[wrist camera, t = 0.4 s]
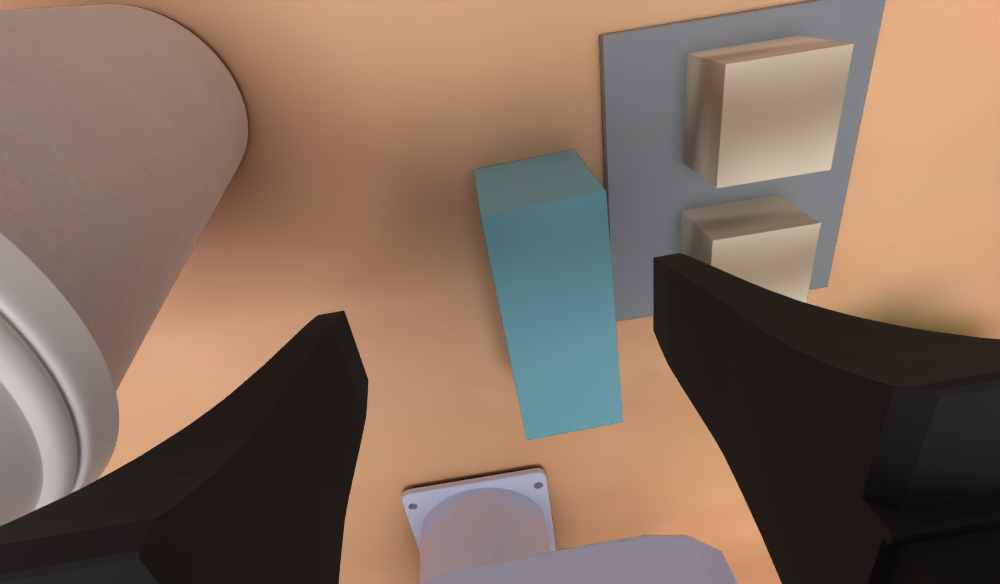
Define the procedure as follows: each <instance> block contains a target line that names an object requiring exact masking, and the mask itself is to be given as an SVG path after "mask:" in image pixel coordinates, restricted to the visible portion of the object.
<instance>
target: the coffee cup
mask: <svg viewBox="0 0 1000 584" xmlns="http://www.w3.org/2000/svg"><path fill="white" fill-rule="evenodd" d="M247 141H248V119H247V113H246V108H245V105H244V102H243V99H242V96H241V93H240V91H239V89H238V87H237V85H236V83H235V81H234V79H233V77H232V76H231V74H230V73H229V71H228V70H227V68H226V67H225V65H224V64H223V63H222V62H221V60H220V59H219V58H218V57H217V56H216V54H215V53H214V52H213V51H212V50H211V49H210V48H209V47H208V46H207V45H206V44H205V43H204V42H202V41H201V40H200V39H199V38H198V37H197V36H195V35H194V34H193V33H191V32H190V31H189V30H187V29H186V28H184V27H183V26H181V25H179V24H178V23H176V22H174V21H172V20H170V19H168V18H166V17H164V16H162V15H160V14H157V13H155V12H152V11H149V10H146V9H143V8H139V7H135V6H130V5H122V4H95V5H79V6H64V7H49V8H34V9H19V10H3V11H0V526H2V525H4V524H6V523H9V522H11V521H13V520H15V519H17V518H19V517H22V516H24V515H26V514H28V513H30V512H32V511H35V510H37V509H39V508H41V507H43V506H45V505H48V504H50V503H52V502H54V501H56V500H58V499H61V498H63V497H65V496H67V495H69V494H71V493H73V492H75V491H77V490H79V489H81V488H83V487H85V486H87V485H89V484H91V483H92V482H94V481H96V480H97V479H98V478H99V477H100V475H101V474H102V473H103V471H104V470H105V468H106V466H107V465H108V463H109V461H110V459H111V456H112V454H113V452H114V448H115V445H116V441H117V436H118V429H119V409H118V401H117V395H116V391H117V389H118V387H119V385H120V383H121V381H122V379H123V377H124V375H125V374H126V372H127V370H128V368H129V366H130V364H131V362H132V360H133V359H134V357H135V355H136V353H137V351H138V349H139V347H140V346H141V344H142V342H143V340H144V338H145V336H146V334H147V333H148V331H149V329H150V327H151V325H152V323H153V321H154V320H155V318H156V316H157V314H158V312H159V310H160V309H161V307H162V305H163V303H164V301H165V299H166V298H167V296H168V294H169V292H170V290H171V288H172V287H173V285H174V283H175V281H176V279H177V277H178V276H179V274H180V272H181V270H182V268H183V266H184V265H185V263H186V261H187V259H188V257H189V256H190V254H191V252H192V250H193V248H194V246H195V245H196V243H197V241H198V239H199V237H200V235H201V234H202V232H203V230H204V228H205V226H206V225H207V223H208V221H209V219H210V217H211V215H212V214H213V212H214V210H215V208H216V206H217V205H218V203H219V201H220V199H221V197H222V196H223V194H224V192H225V190H226V188H227V187H228V185H229V183H230V181H231V179H232V177H233V176H234V174H235V172H236V170H237V168H238V167H239V165H240V163H241V161H242V159H243V156H244V153H245V150H246V147H247Z"/></svg>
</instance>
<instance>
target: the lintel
mask: <svg viewBox="0 0 1000 584" xmlns="http://www.w3.org/2000/svg"><path fill="white" fill-rule="evenodd" d="M474 176H475V182H476V189H477V195H478V202H479V208H480V215H481V220H482V225H483V230H484V235H485V240H486V244H487V249H488V254H489V259H490V264H491V269H492V274H493V279H494V284H495V288H496V293H497V298H498V303H499V308H500V313H501V318H502V323H503V328H504V332H505V337H506V342H507V347H508V352H509V357H510V362H511V367H512V371H513V376H514V381H515V386H516V391H517V396H518V401H519V406H520V411H521V415H522V420H523V425H524V430H525V435H526V440H531V439H537V438H542V437H547V436H552V435H557V434H563V433H568V432H573V431H578V430H583V429H589V428H594V427H599V426H604V425H609V424H615V423H620V422H623V416H622V402H621V389H620V375H619V361H618V348H617V334H616V321H615V307H614V293H613V280H612V266H611V252H610V239H609V225H608V212H607V198H606V190H605V189H604V188H603V187H602V185H601V184H600V183H599V181H598V180H597V179H596V177H595V176H594V175H593V174H592V172H591V171H590V170H589V168H588V167H587V166H586V165H585V163H584V162H583V161H582V159H581V158H580V157H579V156H578V154H577V153H576V152H575V150H569V151H564V152H559V153H554V154H549V155H544V156H539V157H534V158H529V159H523V160H518V161H513V162H508V163H503V164H498V165H493V166H488V167H483V168H478V169H474Z"/></svg>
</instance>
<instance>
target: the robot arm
mask: <svg viewBox="0 0 1000 584" xmlns="http://www.w3.org/2000/svg"><path fill="white" fill-rule="evenodd" d="M653 327H654V333H655V335H656V338H657V340H658V343H659V345H660V347H661V350H662V352H663V354H664V356H665V359H666V361H667V363H668V365H669V367H670V368H671V370H672V372H673V373H674V375H675V377H676V378H677V380H678V381H679V383H680V385H681V386H682V388H683V390H684V391H685V393H686V394H687V396H688V397H689V399H690V401H691V402H692V404H693V405H694V407H695V409H696V410H697V412H698V413H699V415H700V416H701V418H702V420H703V421H704V423H705V424H706V426H707V427H708V429H709V431H710V432H711V434H712V435H713V437H714V439H715V440H716V442H717V444H718V446H719V447H720V449H721V451H722V453H723V455H724V456H725V459H726V461H727V463H728V465H729V467H730V469H731V471H732V473H733V475H734V477H735V479H736V481H737V483H738V485H739V487H740V490H741V492H742V494H743V496H744V498H745V500H746V502H747V505H748V507H749V509H750V511H751V513H752V516H753V518H754V520H755V522H756V524H757V527H758V529H759V531H760V533H761V535H762V538H763V540H764V542H765V545H766V547H767V549H768V552H769V554H770V557H771V559H772V561H773V564H774V566H775V568H776V571H777V573H778V575H779V578H780V580H781V582H782V584H1000V339H989V338H977V337H969V336H961V335H954V334H947V333H940V332H932V331H926V330H920V329H914V328H908V327H902V326H897V325H892V324H887V323H882V322H877V321H873V320H868V319H863V318H859V317H855V316H851V315H847V314H843V313H839V312H836V311H832V310H828V309H825V308H821V307H818V306H814V305H811V304H808V303H805V302H802V301H798V300H795V299H793V298H790V297H787V296H784V295H782V294H779V293H776V292H773V291H771V290H768V289H765V288H763V287H760V286H758V285H755V284H753V283H751V282H748V281H746V280H743V279H741V278H739V277H736V276H734V275H732V274H729V273H727V272H725V271H723V270H720V269H718V268H716V267H714V266H711V265H709V264H707V263H704V262H702V261H700V260H697V259H695V258H693V257H690V256H687V255H685V254H681V253H676V254H670V255H665V256H659V257H653ZM367 396H368V378H367V375H366V372H365V369H364V366H363V363H362V360H361V358H360V355H359V352H358V349H357V346H356V343H355V340H354V337H353V335H352V332H351V329H350V326H349V323H348V320H347V317H346V314H345V312H344V311H340V312H334V313H328V314H322V315H318V316H316V317H315V318H314V319H313V320H311V321H310V322H309V323H308V324H307V325H306V326H305V327H304V328H303V329H301V330H300V331H299V332H298V333H297V334H296V335H295V336H294V337H293V338H292V339H291V340H290V341H289V342H288V343H287V344H286V345H285V346H284V347H283V348H281V349H280V350H279V351H278V352H277V353H276V354H275V355H274V356H273V357H272V358H271V359H270V360H269V361H268V362H267V363H266V364H265V365H263V366H262V367H261V368H260V369H259V370H258V371H257V372H255V373H254V374H253V375H252V376H251V377H250V378H248V379H247V380H246V381H245V382H244V383H243V384H242V385H240V386H239V387H238V388H237V389H236V390H235V391H233V392H232V393H231V394H230V395H229V396H227V397H226V398H225V399H224V400H222V401H221V402H220V403H218V404H217V405H216V406H215V407H213V408H212V409H211V410H209V411H208V412H206V413H205V414H204V415H202V416H201V417H200V418H198V419H197V420H195V421H194V422H193V423H191V424H190V425H188V426H187V427H185V428H184V429H183V430H181V431H179V432H178V433H176V434H175V435H173V436H171V437H170V438H168V439H167V440H165V441H163V442H162V443H160V444H159V445H157V446H156V447H154V448H152V449H151V450H149V451H148V452H146V453H144V454H143V455H141V456H140V457H138V458H136V459H134V460H133V461H131V462H129V463H127V464H126V465H124V466H122V467H120V468H118V469H117V470H115V471H113V472H111V473H110V474H108V475H106V476H104V477H102V478H100V479H98V480H96V481H94V482H92V483H91V484H89V485H87V486H85V487H83V488H81V489H79V490H77V491H75V492H73V493H71V494H69V495H67V496H65V497H63V498H61V499H58V500H56V501H54V502H52V503H50V504H48V505H45V506H43V507H41V508H39V509H37V510H35V511H32V512H30V513H28V514H26V515H24V516H22V517H19V518H17V519H15V520H13V521H11V522H9V523H6V524H4V525H2V526H0V584H339V572H340V561H341V551H342V541H343V531H344V522H345V516H346V510H347V504H348V499H349V494H350V490H351V485H352V480H353V476H354V471H355V467H356V462H357V458H358V453H359V448H360V444H361V439H362V434H363V429H364V425H365V419H366V410H367ZM537 482H539V483H537ZM402 503H403V506H404V509H405V512H406V514H407V517H408V520H409V523H410V526H411V529H412V532H413V534H414V537H415V540H416V543H417V546H418V549H419V552H420V568H419V583H417V584H737V582H736V580H735V578H734V576H733V574H732V572H731V570H730V568H729V565H728V563H727V561H726V559H725V557H724V555H723V553H722V551H720V550H718V549H716V548H713V547H711V546H709V545H707V544H705V543H703V542H701V541H699V540H697V539H695V538H693V537H689V536H686V535H643V536H637V537H631V538H626V539H620V540H614V541H608V542H603V543H597V544H591V545H585V546H580V547H574V548H568V549H562V550H557V551H556V545H555V538H554V530H553V523H552V515H551V508H550V501H549V493H548V486H547V479H546V473H545V471H544V470H543V469H540V468H533V469H527V470H521V471H515V472H509V473H503V474H497V475H491V476H485V477H479V478H473V479H467V480H461V481H455V482H449V483H443V484H437V485H431V486H425V487H419V488H413V489H408V490H406V491H404V492H403V494H402ZM412 503H414V504H412Z"/></svg>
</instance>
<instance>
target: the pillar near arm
mask: <svg viewBox="0 0 1000 584" xmlns="http://www.w3.org/2000/svg"><path fill="white" fill-rule="evenodd" d="M820 226H821V223H820V222H819V221H817V220H816V219H814V218H812V217H811V216H809V215H808V214H806V213H805V212H803V211H801V210H800V209H798V208H797V207H795V206H794V205H792V204H791V203H789V202H787V201H786V200H784V199H783V198H781V197H780V196H778V195H772V196H766V197H760V198H754V199H748V200H742V201H736V202H729V203H723V204H717V205H711V206H705V207H699V208H693V209H687V210H681V233H680V253H681V254H685V255H687V256H690V257H693V258H695V259H697V260H700V261H702V262H704V263H707V264H709V265H711V266H714V267H716V268H718V269H720V270H723V271H725V272H727V273H729V274H732V275H734V276H736V277H739V278H741V279H743V280H746V281H748V282H751V283H753V284H755V285H758V286H760V287H763V288H765V289H768V290H771V291H773V292H776V293H779V294H782V295H784V296H787V297H790V298H793V299H795V300H798V301H802V302H805V303H806V302H807V296H808V291H809V286H810V280H811V275H812V269H813V264H814V258H815V253H816V247H817V242H818V236H819V231H820Z"/></svg>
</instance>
